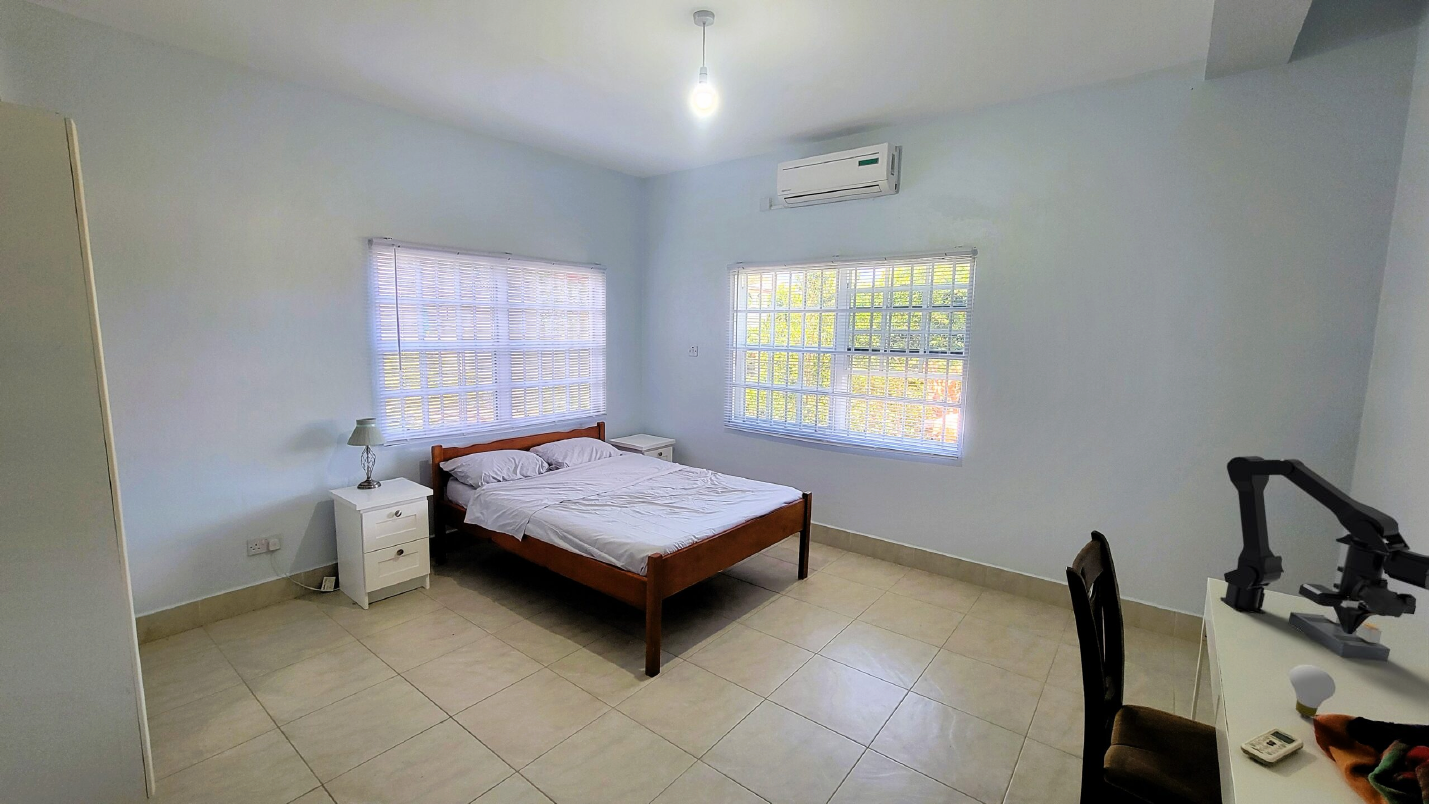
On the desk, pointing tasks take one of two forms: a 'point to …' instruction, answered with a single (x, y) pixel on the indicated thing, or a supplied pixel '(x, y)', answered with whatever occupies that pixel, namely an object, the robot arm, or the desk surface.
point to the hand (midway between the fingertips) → (1347, 633)
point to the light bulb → (1311, 688)
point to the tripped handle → (1369, 632)
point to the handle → (1331, 614)
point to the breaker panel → (1338, 637)
